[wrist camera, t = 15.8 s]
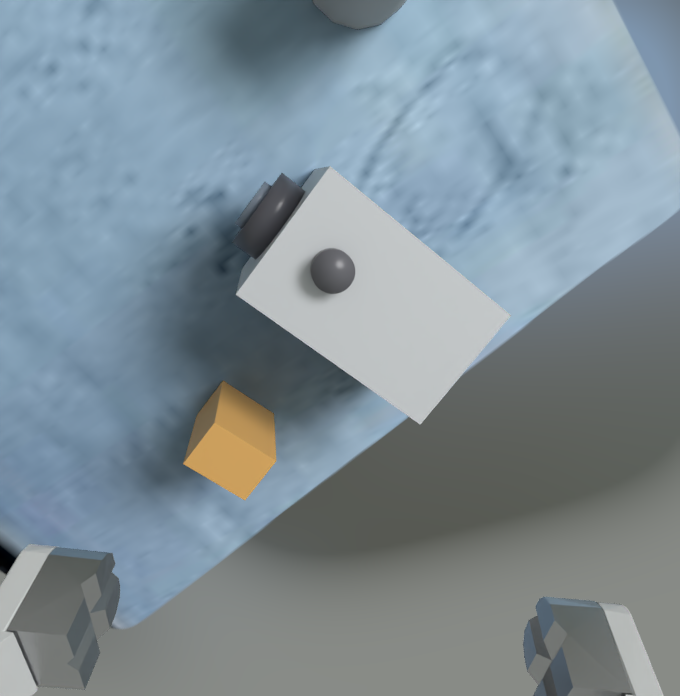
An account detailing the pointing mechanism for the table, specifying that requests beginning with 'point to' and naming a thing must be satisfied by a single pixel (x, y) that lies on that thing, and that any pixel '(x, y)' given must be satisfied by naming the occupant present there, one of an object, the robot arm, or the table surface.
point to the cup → (358, 11)
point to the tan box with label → (232, 441)
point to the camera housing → (362, 290)
